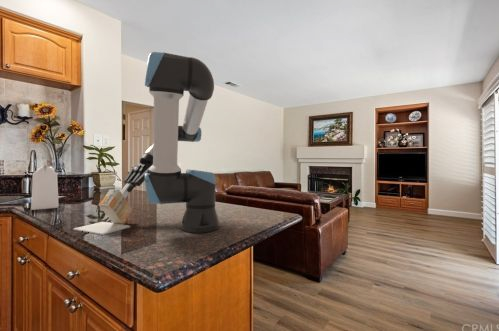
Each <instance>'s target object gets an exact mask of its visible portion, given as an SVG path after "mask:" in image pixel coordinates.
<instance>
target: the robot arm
mask: <svg viewBox="0 0 499 331" xmlns="http://www.w3.org/2000/svg"><path fill="white" fill-rule="evenodd" d="M146 64H147V66H146V72H145V73H146V74H145V79H144V80H145V81H144V86H145V87H147V88H148V90H149V91H148V92H149V93H150V95H151V96H152V97H153V134H152V135H153V136H152V137H153V138H152V139H153V140H152V141H153V143H152V144H151V145H150V147H149V148H147V150H146V151H145V152H144V154H143V155H142V156H141V157H140V158H139V163H138V164H137V165H136V166H131V167H130V170H129V172H128V173H127V175H126V177H125V178H124V180H123V183H124V184H125V185H124V186H123V187H122V188H121V190H120V192H121V193H122V195H123V196H124V197H125V199H126V198H127V197H128V195H129V194H130V193H131V192H132V191H133V190H134V189H135V188H136V187H140V186H141V185H142V184H144V183H145V192H146V197H147V198H146V199H147V201H148V204H150V205H151V204H152V205H165V204H183V203H185V211H184V213H183V216H182V220H181V222H180V227H181V228H180V230H182V231H184V232H186V233H187V232H188V233H193V234H194V233H195V234H196V233H209V232H214V231H217V230H218V229H220V219H219V216H218V213H217V210H216V185H217V183H216V182H217V181H216V174H214V173H213V172H212V171H211V172H209V171H203V170H196V169H186V170H185V172H182V168H181V166H179V165H178V148H179V146H178V144H179V142H188V143H189V142H191V143H194V142H200V141H201V140H202V128H201V127H200V126H201V124H202V119H203V117H204V114H205V111H206V107H207V104H208V102H209V100H210V99H212V96H213V93H214V90H215V83H214V82H215V80H214V78H213V75H212V72H211V70H210V69H209V67H208V66H207V64H205V62H203V61H202V60H200V59H198V58H196V57H191V56H183V55H178V54H175V53H174V54H173V53H168V52H164V51H163V52H159V51H151V52H150V53H149V55H148V58H147V63H146ZM185 92H188V94H189V96H188V100H187V105H186V109H185V114H184V119H183V124H182V125H179V115H180V114H179V111H180V110H179V109H180V108H179V107H180V100H181V99H182V98H183V97H184V93H185Z"/></svg>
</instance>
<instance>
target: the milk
mask: <svg viewBox="0 0 499 331" xmlns="http://www.w3.org/2000/svg"><path fill="white" fill-rule="evenodd" d="M47 161H48V160H45V159H44V160H43V161H42V164H43V165H42V166H41V167H39V168H38V169H36V170H35V171H34V172H33V173H32V180H31V181H32V184H31V201H30V202H31V203H30V204H31V205H30V206H31V207H30V211H32V210H33V211H34V210H45V209H47V210H48V209H56V208H58V209H59V186H58V172H56V171H55V170H56V169H55V168H54V167H53V166H49V165H48V162H47Z"/></svg>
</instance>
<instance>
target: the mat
mask: <svg viewBox="0 0 499 331" xmlns="http://www.w3.org/2000/svg"><path fill="white" fill-rule="evenodd" d="M129 228H131V225H128V224H115V223H113V222H107V221H99V222H94V223H92V224H87V225H83V226H79V227H74V228H73V229H72V230H73V231H79V232H82V231H83V232H84V233H88V232H89V234H96V235H99V236H105V235H107V234H111V233H114V232H115V233H116V232H119V231H121V230H125V229H129Z"/></svg>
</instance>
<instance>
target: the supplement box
mask: <svg viewBox="0 0 499 331" xmlns="http://www.w3.org/2000/svg"><path fill="white" fill-rule="evenodd" d="M120 191H121V190H120V189H114V188H113V189H111V188H110V189H108V191H107V192H106V194H105V195H104V197H103V198H101V200H100V202H99V203H98V206H99V208H100V209H101V210H102V211H103V212H104V214H105V215H106V216H107V218H109V220H110V221H111V223H115V224H121V225H125V223H126V220H127V219H128V218H129V216H130V214H131V212H132V210H133V207H132V206H131V204H130V202H129V201H128V200H127V199H126V198H125V197H124V196H123V195H122V193H121V192H120Z"/></svg>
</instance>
